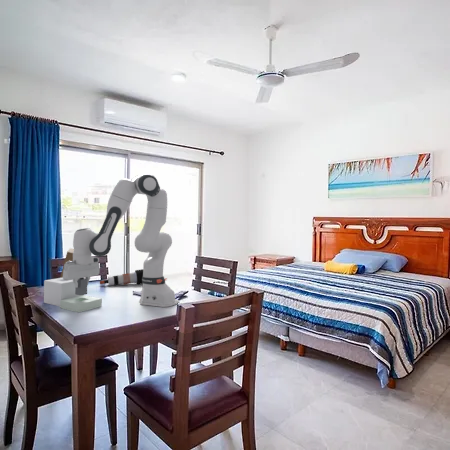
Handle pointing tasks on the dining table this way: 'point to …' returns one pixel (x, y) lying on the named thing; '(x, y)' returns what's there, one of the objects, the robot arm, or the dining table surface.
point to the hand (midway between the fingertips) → (81, 286)
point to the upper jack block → (58, 290)
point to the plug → (81, 287)
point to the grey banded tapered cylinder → (125, 278)
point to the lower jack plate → (80, 303)
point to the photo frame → (68, 259)
